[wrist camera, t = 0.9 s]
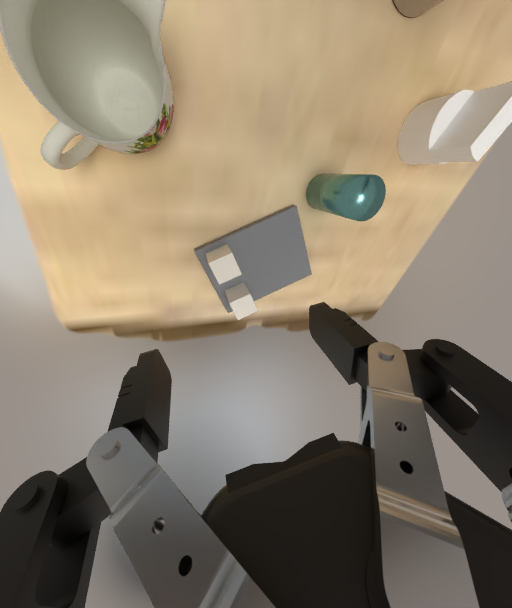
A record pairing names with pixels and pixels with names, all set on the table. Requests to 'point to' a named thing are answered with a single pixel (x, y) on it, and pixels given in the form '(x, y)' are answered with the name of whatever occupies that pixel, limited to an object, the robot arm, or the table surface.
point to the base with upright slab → (455, 126)
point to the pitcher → (92, 72)
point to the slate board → (263, 255)
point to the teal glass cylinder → (347, 195)
